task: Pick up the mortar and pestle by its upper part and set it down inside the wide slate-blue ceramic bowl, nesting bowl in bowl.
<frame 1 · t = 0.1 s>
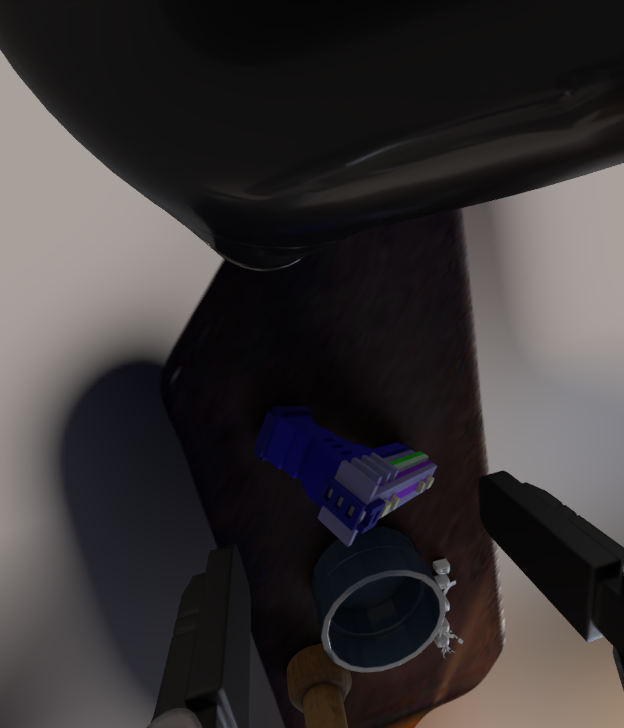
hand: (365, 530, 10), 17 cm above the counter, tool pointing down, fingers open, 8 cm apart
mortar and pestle: (316, 662, 35), on the counter
figurines set: (441, 598, 36), on the counter
blue bowl: (364, 568, 33), on the counter
toy gun: (342, 438, 29), on the counter
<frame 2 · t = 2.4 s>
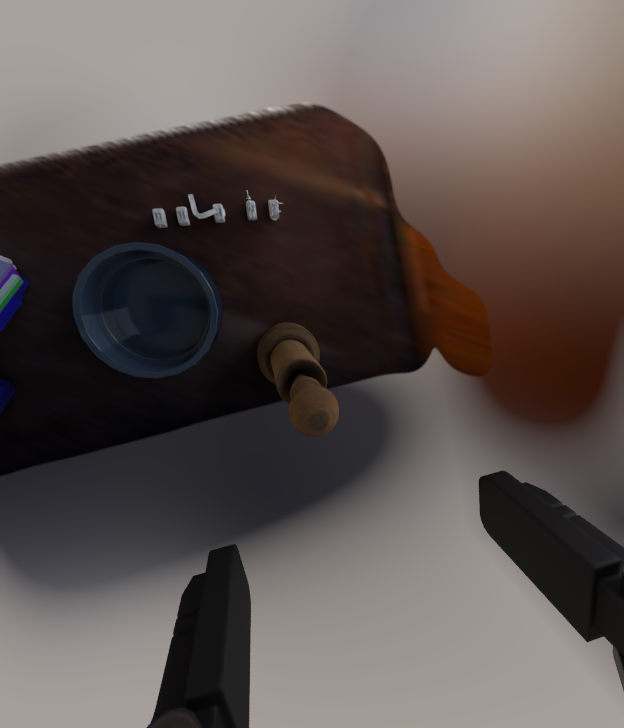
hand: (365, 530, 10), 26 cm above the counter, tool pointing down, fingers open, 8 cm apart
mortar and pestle: (287, 351, 36), on the counter
figurines set: (221, 209, 31), on the counter
blue bowl: (165, 308, 32), on the counter
toy gun: (4, 338, 31), on the counter
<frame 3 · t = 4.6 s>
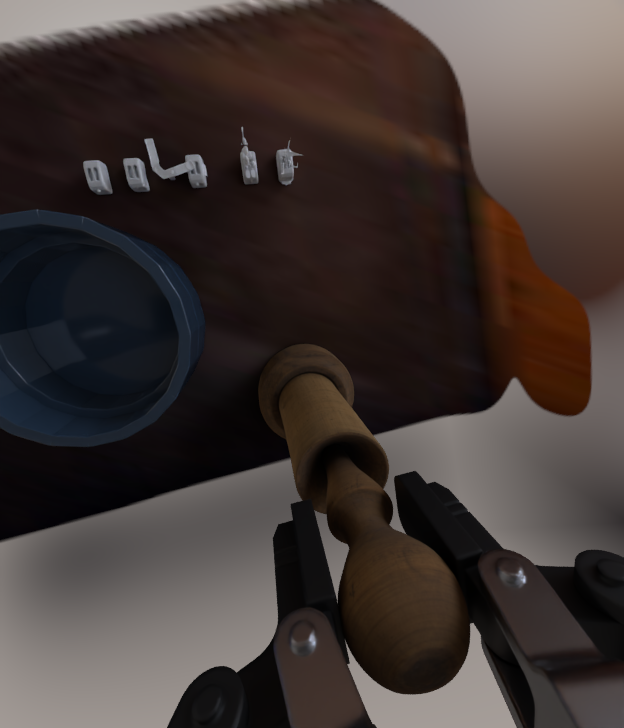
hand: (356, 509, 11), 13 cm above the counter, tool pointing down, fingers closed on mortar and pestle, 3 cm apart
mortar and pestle: (302, 387, 24), on the counter, touching gripper
figurines set: (201, 167, 19), on the counter
blue bowl: (114, 324, 20), on the counter
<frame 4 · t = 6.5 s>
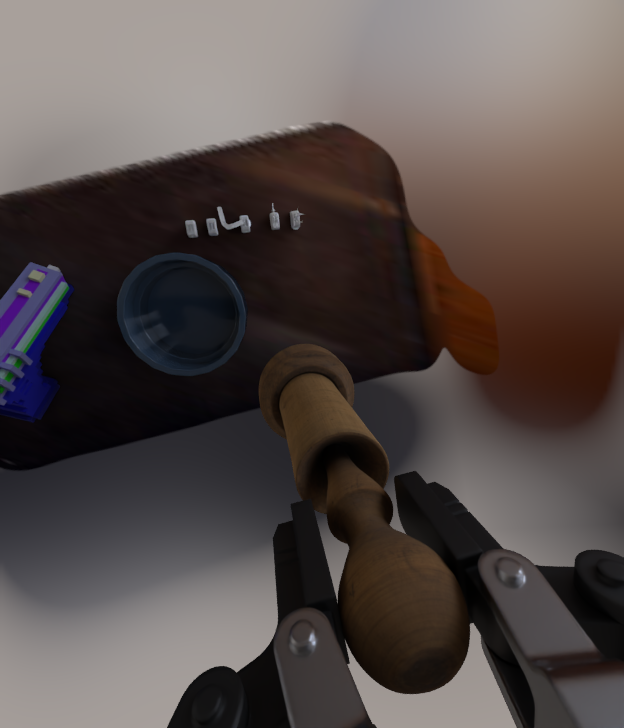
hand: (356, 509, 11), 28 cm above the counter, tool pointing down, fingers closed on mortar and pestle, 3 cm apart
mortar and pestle: (303, 386, 24), point 14 cm above the counter, touching gripper
figurines set: (247, 220, 34), on the counter
blue bowl: (194, 311, 35), on the counter
toy gun: (49, 339, 34), on the counter
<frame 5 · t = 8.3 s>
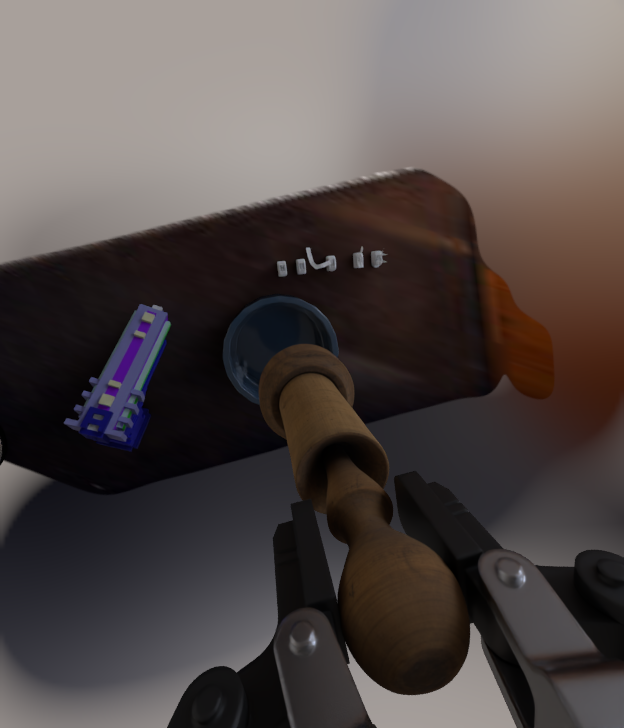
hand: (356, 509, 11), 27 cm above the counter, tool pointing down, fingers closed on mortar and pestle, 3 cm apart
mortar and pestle: (303, 386, 24), point 14 cm above the counter, touching gripper
figurines set: (331, 259, 36), on the counter
blue bowl: (278, 344, 37), on the counter
toy gun: (143, 372, 35), on the counter
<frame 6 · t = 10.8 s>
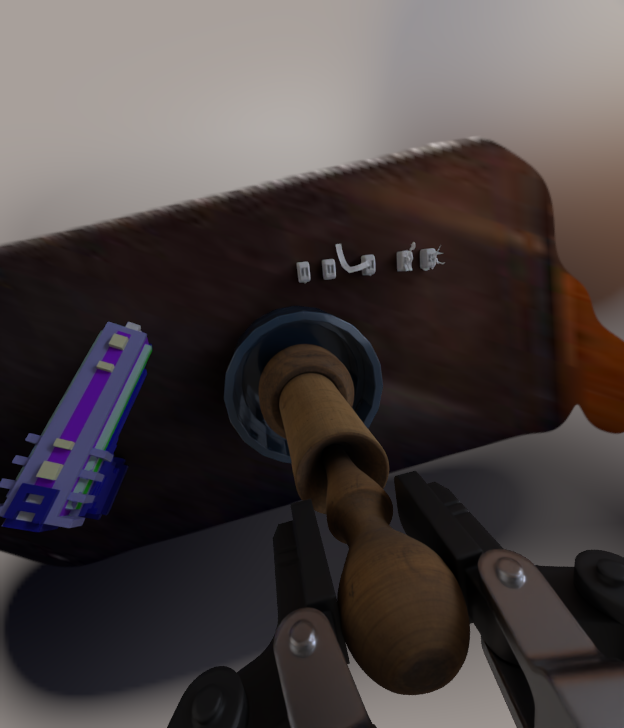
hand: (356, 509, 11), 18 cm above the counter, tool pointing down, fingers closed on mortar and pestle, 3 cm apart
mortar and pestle: (303, 386, 24), point 4 cm above the counter, touching gripper
figurines set: (367, 259, 27), on the counter
blue bowl: (297, 371, 28), on the counter
toy gun: (118, 409, 26), on the counter
when the fingers open (14 cm above the counter, at t = 12.3 s): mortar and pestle stays where it is, resting on blue bowl.
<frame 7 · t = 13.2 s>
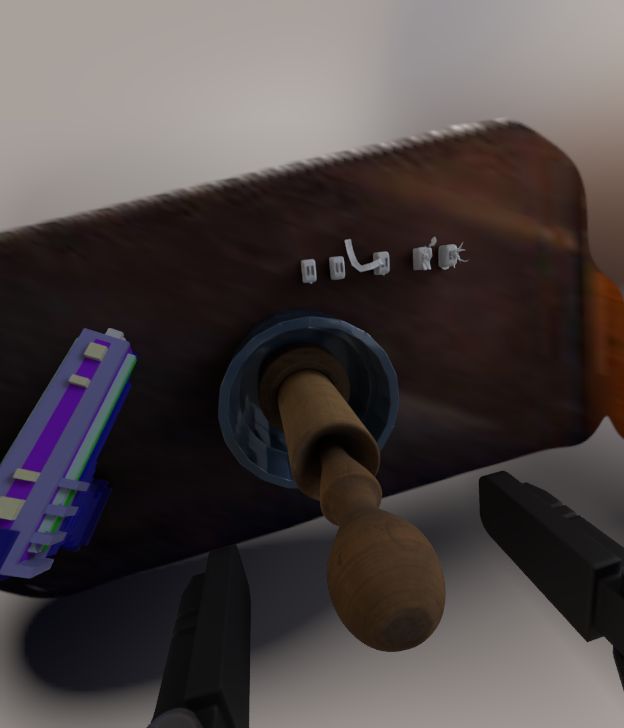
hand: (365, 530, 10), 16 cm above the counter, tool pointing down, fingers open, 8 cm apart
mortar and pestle: (300, 383, 25), resting on blue bowl
figurines set: (380, 257, 24), on the counter
blue bowl: (300, 381, 25), on the counter
toy gun: (100, 425, 24), on the counter
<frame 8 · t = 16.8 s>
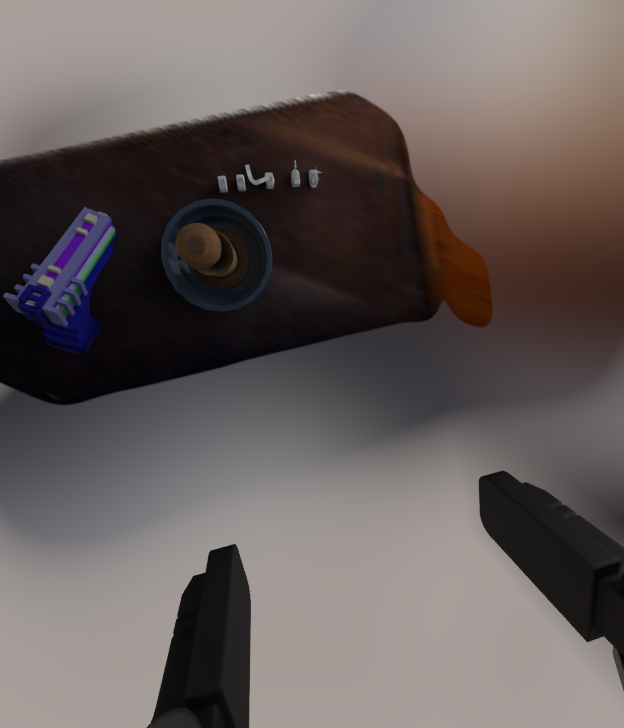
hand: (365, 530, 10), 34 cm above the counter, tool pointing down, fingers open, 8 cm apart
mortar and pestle: (222, 260, 39), resting on blue bowl
figurines set: (270, 178, 38), on the counter
blue bowl: (223, 260, 39), on the counter
toy gun: (94, 283, 38), on the counter
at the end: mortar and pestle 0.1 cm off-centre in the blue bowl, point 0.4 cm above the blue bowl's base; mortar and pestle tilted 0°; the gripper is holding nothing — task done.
